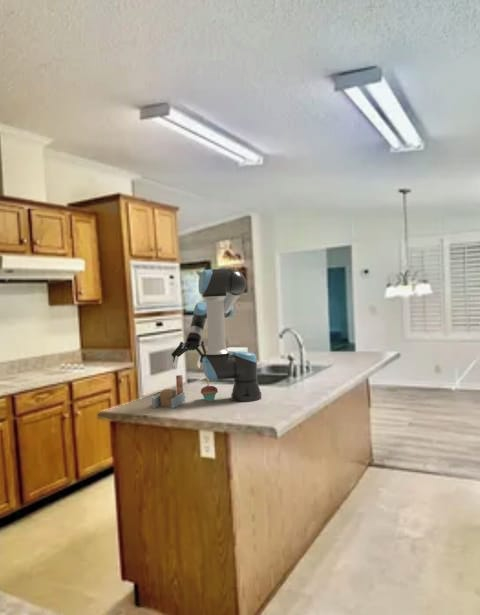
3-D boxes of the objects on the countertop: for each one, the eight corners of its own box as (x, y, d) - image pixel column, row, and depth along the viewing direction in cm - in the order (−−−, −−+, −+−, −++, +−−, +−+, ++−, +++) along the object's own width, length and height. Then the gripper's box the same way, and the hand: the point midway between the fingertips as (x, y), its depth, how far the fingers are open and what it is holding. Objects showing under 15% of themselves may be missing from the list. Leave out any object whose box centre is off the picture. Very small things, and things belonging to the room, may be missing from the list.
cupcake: (198, 399, 246) (197, 375, 246) (214, 397, 250) (213, 373, 249) (204, 402, 238) (203, 378, 238) (220, 400, 242) (219, 376, 241)
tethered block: (176, 396, 254) (175, 374, 254) (187, 397, 253) (186, 374, 252) (160, 406, 235) (159, 382, 234) (172, 406, 233) (171, 382, 233)
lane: (164, 401, 245) (164, 392, 245) (184, 401, 242) (184, 392, 242) (152, 408, 232) (152, 398, 232) (173, 408, 229) (173, 399, 229)
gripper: (217, 339, 274) (210, 371, 260) (176, 340, 280) (166, 371, 267) (214, 331, 269) (206, 362, 255) (171, 332, 275) (162, 362, 261)
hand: (186, 367), depth 261 cm, fingers open, 13 cm apart
